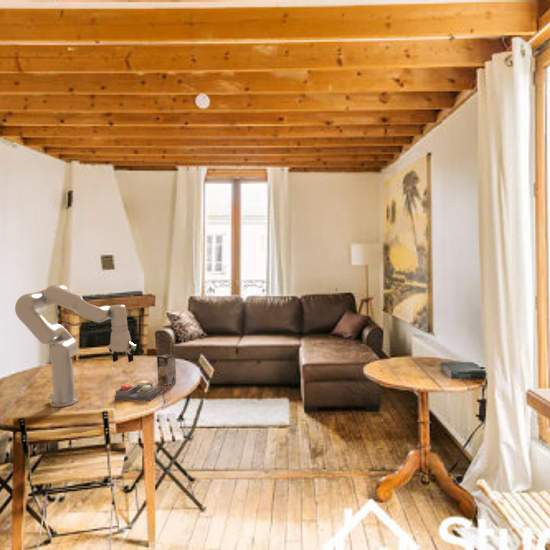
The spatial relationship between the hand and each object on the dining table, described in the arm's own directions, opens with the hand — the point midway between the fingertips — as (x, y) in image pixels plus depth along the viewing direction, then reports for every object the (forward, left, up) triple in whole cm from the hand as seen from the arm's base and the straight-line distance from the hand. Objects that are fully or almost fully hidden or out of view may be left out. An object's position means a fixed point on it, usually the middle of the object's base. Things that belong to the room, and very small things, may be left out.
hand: (123, 361), depth 205 cm
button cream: (+6, +8, -15) cm, 18 cm away
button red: (0, +1, -15) cm, 15 cm away
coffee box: (+11, +25, -20) cm, 34 cm away
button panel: (+6, +5, -19) cm, 21 cm away
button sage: (+12, +1, -15) cm, 19 cm away
